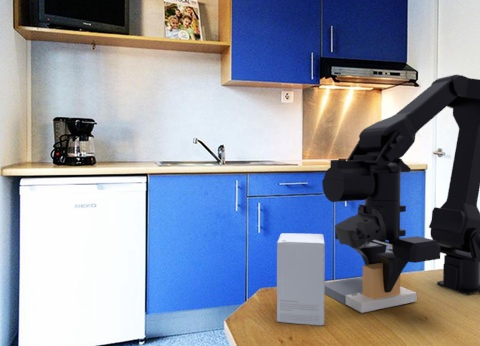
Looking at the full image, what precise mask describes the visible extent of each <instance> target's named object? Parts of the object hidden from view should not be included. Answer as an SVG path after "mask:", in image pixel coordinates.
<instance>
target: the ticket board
mask: <svg viewBox="0 0 480 346" xmlns="http://www.w3.org/2000/svg"><path fill="white" fill-rule="evenodd" d="M361 292H363V276H358V277H353V278H346V279H341V280H340V279H339V280H335V281H328V282H325V295H326V296H329V297H330V298H332V299H334V300H335V301H337V302H339V303H341V304H343V305H346V295H350V294H356V293H361Z"/></svg>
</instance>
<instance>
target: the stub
mask: <svg viewBox="0 0 480 346" xmlns="http://www.w3.org/2000/svg"><path fill="white" fill-rule="evenodd" d="M362 277H363V292H361V293H356V294H350V295H346V304H345V305H346V306H348V307H350V308H352V309H354V310H355V311H357V312H359V313H362V314H363V313H368V312H372V311H377V310H381V309H386V308H391V307H396V306H401V305H406V304H409V303H415V302H417V301H418V300H417V292H415V291H413V290H410V289H408V288H405V287H403V286H401V275H400V276H399V278H398V280H397V281H396V283H395V285H394V287H393V289H392V291H391V292H388V293H386V292H385V291H384V283H383V263H377V264H370V265H365V264H364V265H362Z"/></svg>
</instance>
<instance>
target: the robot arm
mask: <svg viewBox="0 0 480 346" xmlns="http://www.w3.org/2000/svg"><path fill="white" fill-rule="evenodd" d="M445 108H450V109H452V117H453V119H454V121H455V123H456V125H457V127H458V133H457V139H456V143H455V144H456V145H455V151H454V155H453V162H452V167H451V175H450V178H449V179H450V180H449V184H448V185H449V186H448V190H447V191H448V192H447V197H446V200H445V202H444V203H443V204H442V205H441V206H440V207H435V206H434V207H433V209H432V211H431V219H430V220H431V221H430V223H429V225H428V228H429V229H430V233H429V234H430V238H427V237H423V236H418V235H417V236H416V235H415V236H410V237H409V236H407V237H406V234H407V233H406V231H407V230H406V229H402V228H401V213H405V212H406V211H407V209H406V208H407V205H404V204H403V205H402V204H401V177H402V176H401V175H402V173H410V172H411V170H412V169H411V167H410V166H408V165H407V164H406V163H405V162H404V161H403V159H402V157H404V155H405V154H407V152H408V151H409V149H410V148H412V146H413V144H415V141H416V135H417V133H418V132H419V131H420V130H421V129H422V128H423V127H424V126H426V125H427V124H428V123H429V122H430V121H432V119H434V118H435V117H436V116H437V115H438V114H439V113H441V112H442V111H443V110H444V109H445ZM358 139H359V140H358V141H357V142H356V145H355V146H354V148H353V150H352V152H351V153H350V154H349V156H348V157H347V159H346V160H345V159H331V160H330V161H329V162H330V164H329V165H330V167H329V168H328V169H327V170H326V171H325V173H324V176H323V179H322V181H321V182H322V183H321V184H322V190H323V191H322V192H323V194H324V196H325V197H326V199H327V200H328V201H329V202H332V203H341V202H356V201H357V202H358V201H364V203H362V204H358V206H357V207H358V208H357V214H355V215H352V216H349V217H347V218H346V219H344V220H342V221H340V222H338V223H336V224H335V225H334V231H335V232H334V234H335V235H334V238H335V240H338V242H339V244H340V245H342V246H343V245H345V246H348V247H349V248H351V249H353V250H355V251H356V252H357V253H358V254H359V255H360V256H361V257H362V260H363V263H364V265H370V264H377V263H383V283H384V291H385V292H386V293H388V292H391V291H392V289H393V287H394V285H395V283H396V281H397V280H398V278H399V276H400V277H401V274H402V272H403V271H404V269H405V268H406V266H407V265H408V263H412V264H413V263H422V262H428V261H429V262H430V261H434V260H440V259H441V254H444V258H443V259H444V260H443V266H442V267H443V268H442V269H443V270H442V271H443V272H442V273H443V276H442V277H443V278H442V280H439V281H437V282H436V285H438V286H441V287H444V288H446V289H449V290H452V291H455V292H457V293H460V294H463V295H472V294H477V293H480V210H479V208H478V198H479V193H480V79H479V78H478V79H477V78H470V77H467V76H464V75H462V74H461V75H460V74H452V75H447V76H444V77H440V78H436V79H435V80H434V81H432V83H431V85H430V86H428V87H427V88H426V89H425V90H423V92H421V93H420V94H419V95H417V96H416V97H415V98H414V99H412V101H409V103H407V105H405V106H404V107H403V108H401V109H399V111H398V112H396V113H395V114H394V115H391V116H390V117H387V118H384V119H381V120H380V121H377V122H375V123H373V124H371V125H369V126H367V127H365V128H364V129H363V130H362V131H361V132H360V133H359V135H358Z"/></svg>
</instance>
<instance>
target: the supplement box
mask: <svg viewBox="0 0 480 346" xmlns="http://www.w3.org/2000/svg"><path fill="white" fill-rule="evenodd" d="M325 253H326V243H325V236H324V234H322V233H293V232H292V233H289V232H288V233H287V232H286V233H280V235H279V237H278V240H277V241H276V322H278V323H285V324H295V325H297V324H298V325H312V326H324V325H325V295H326V294H325V283H326V281H325V278H326V277H325V276H326V275H325V273H326V272H325V271H326V270H325V269H326V265H325V263H326V258H325V257H326V254H325Z"/></svg>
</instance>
